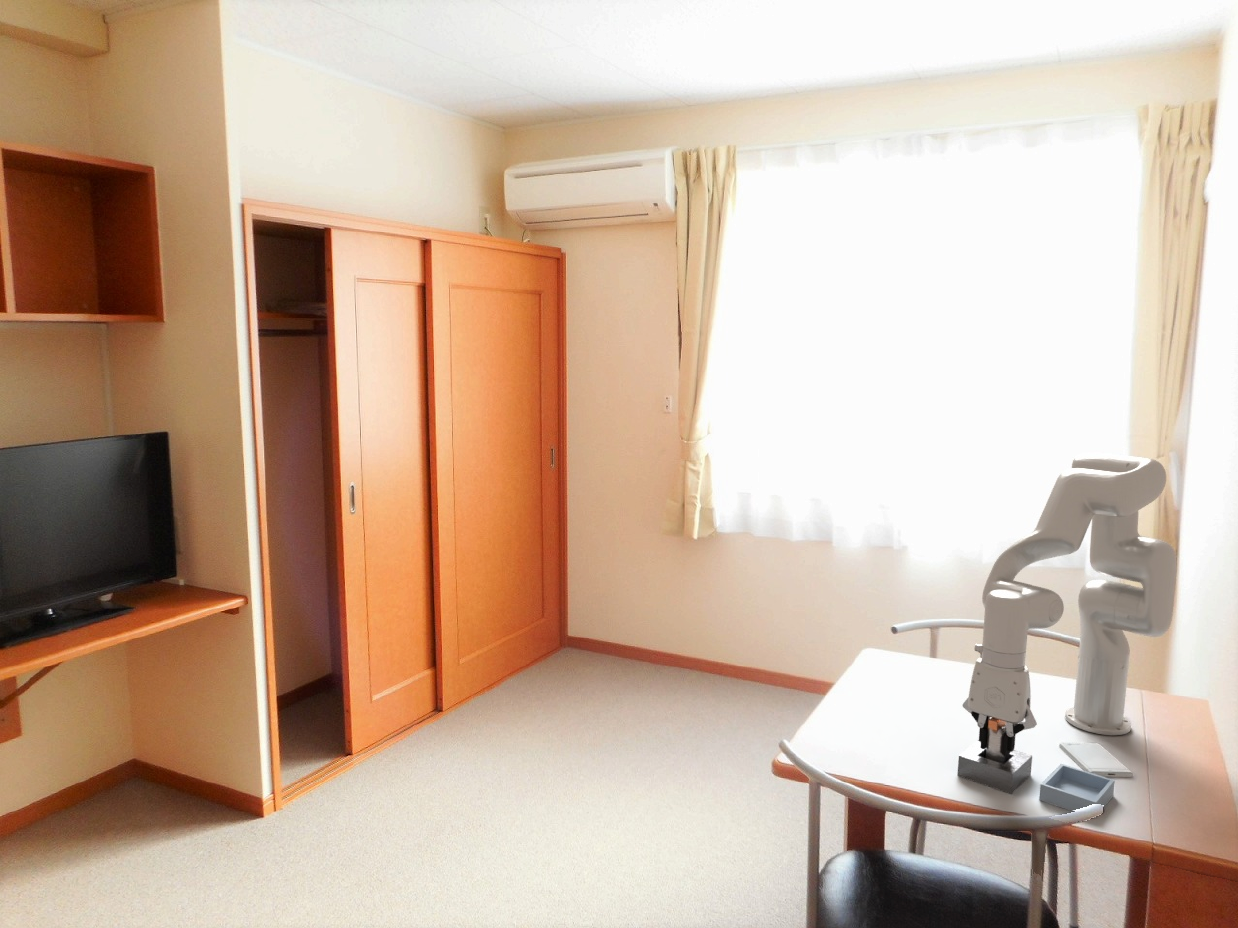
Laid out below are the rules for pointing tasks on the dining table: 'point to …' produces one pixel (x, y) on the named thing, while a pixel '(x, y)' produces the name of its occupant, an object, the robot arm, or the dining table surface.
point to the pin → (995, 740)
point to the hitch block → (994, 768)
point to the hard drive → (1095, 759)
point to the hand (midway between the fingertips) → (996, 749)
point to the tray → (1075, 788)
